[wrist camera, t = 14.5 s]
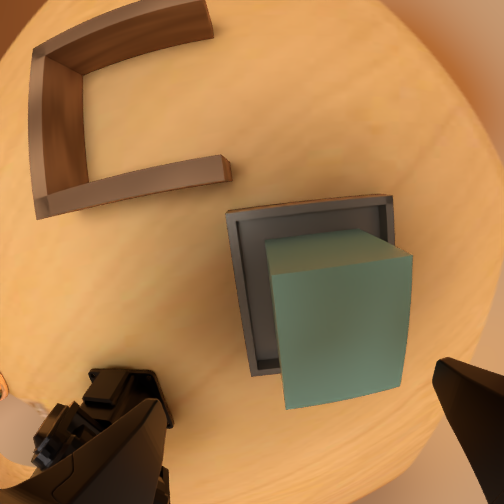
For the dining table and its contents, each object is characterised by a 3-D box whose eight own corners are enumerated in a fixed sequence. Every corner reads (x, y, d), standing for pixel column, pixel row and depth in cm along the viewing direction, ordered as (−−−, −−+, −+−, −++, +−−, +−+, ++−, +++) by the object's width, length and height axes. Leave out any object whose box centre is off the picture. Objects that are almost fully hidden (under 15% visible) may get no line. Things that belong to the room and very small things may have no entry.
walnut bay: (232, 180, 18) (224, 180, 13) (79, 210, 18) (36, 220, 14) (211, 24, 15) (200, -15, 11) (70, 68, 16) (33, 48, 11)
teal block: (360, 327, 19) (399, 386, 13) (276, 340, 20) (285, 409, 13) (358, 228, 18) (412, 255, 11) (264, 239, 18) (271, 275, 11)
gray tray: (380, 340, 21) (390, 353, 19) (251, 360, 21) (251, 376, 19) (379, 193, 18) (392, 195, 16) (228, 210, 18) (225, 213, 17)
